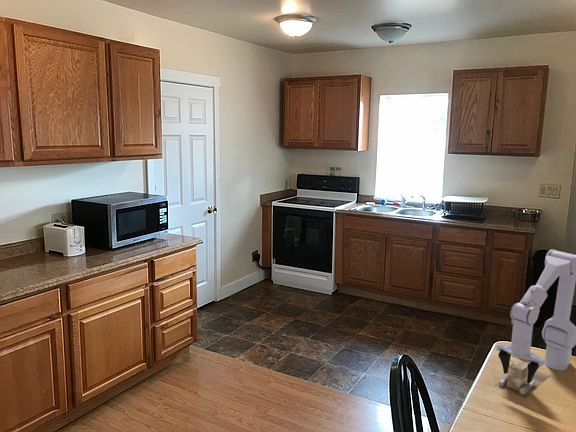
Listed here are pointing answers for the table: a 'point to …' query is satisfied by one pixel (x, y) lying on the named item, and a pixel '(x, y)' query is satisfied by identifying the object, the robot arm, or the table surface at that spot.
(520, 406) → the table surface
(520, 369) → the block
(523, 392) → the board
